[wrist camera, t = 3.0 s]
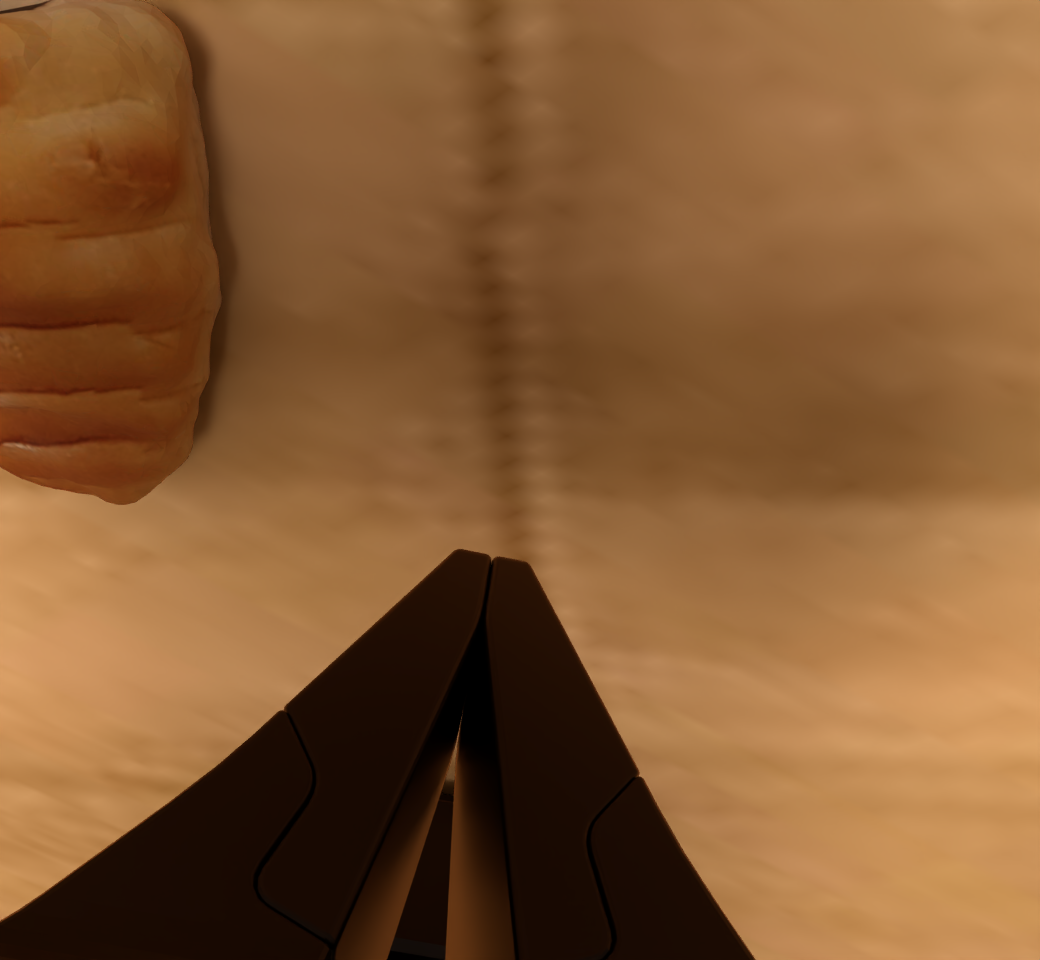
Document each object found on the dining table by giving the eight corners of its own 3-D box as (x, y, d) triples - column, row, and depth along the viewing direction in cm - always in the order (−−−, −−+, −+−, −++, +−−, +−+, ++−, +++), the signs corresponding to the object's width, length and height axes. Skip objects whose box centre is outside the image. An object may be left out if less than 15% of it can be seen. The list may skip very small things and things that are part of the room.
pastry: (280, 469, 18) (211, 571, 15) (-7, 454, 19) (-134, 551, 16) (203, -21, 14) (77, -28, 10) (-180, -26, 14) (-418, -34, 11)
